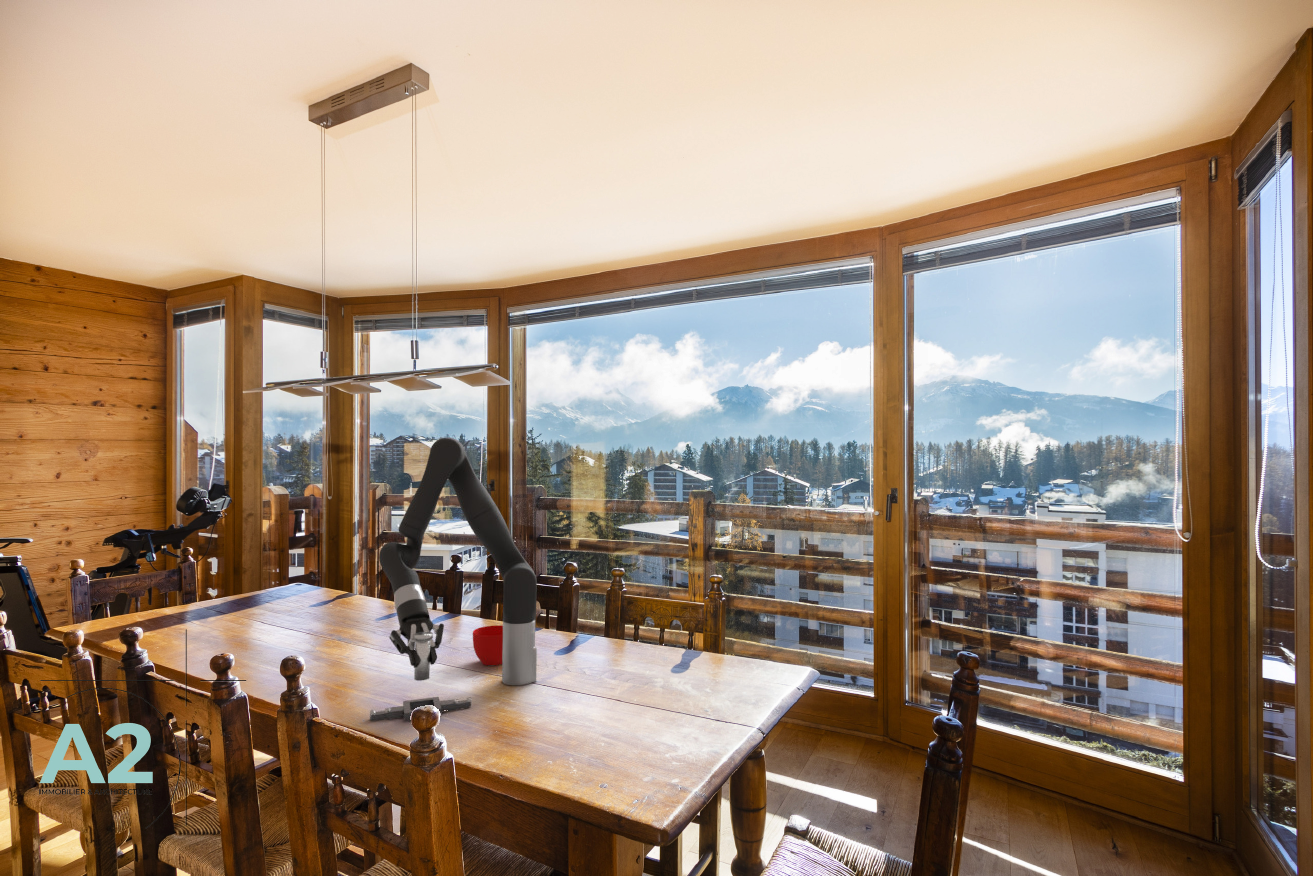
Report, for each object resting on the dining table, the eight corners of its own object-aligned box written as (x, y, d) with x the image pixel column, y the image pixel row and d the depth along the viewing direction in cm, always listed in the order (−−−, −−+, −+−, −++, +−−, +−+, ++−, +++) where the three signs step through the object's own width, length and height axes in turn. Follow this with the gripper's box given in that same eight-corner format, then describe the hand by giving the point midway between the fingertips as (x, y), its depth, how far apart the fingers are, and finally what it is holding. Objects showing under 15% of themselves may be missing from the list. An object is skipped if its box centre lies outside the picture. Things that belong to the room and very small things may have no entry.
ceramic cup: (498, 674, 191) (499, 640, 192) (463, 663, 202) (464, 631, 202) (531, 664, 202) (532, 631, 202) (496, 654, 212) (497, 623, 212)
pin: (430, 674, 165) (432, 631, 166) (432, 680, 161) (433, 635, 161) (411, 676, 163) (413, 632, 164) (412, 682, 159) (413, 637, 160)
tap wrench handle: (469, 700, 170) (469, 692, 171) (473, 712, 163) (473, 703, 163) (369, 713, 161) (370, 705, 161) (369, 726, 153) (369, 717, 153)
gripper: (386, 601, 164) (399, 661, 154) (441, 594, 173) (457, 651, 163) (379, 617, 168) (392, 677, 158) (434, 610, 177) (448, 667, 167)
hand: (425, 664), depth 161 cm, fingers closed on pin, 3 cm apart
